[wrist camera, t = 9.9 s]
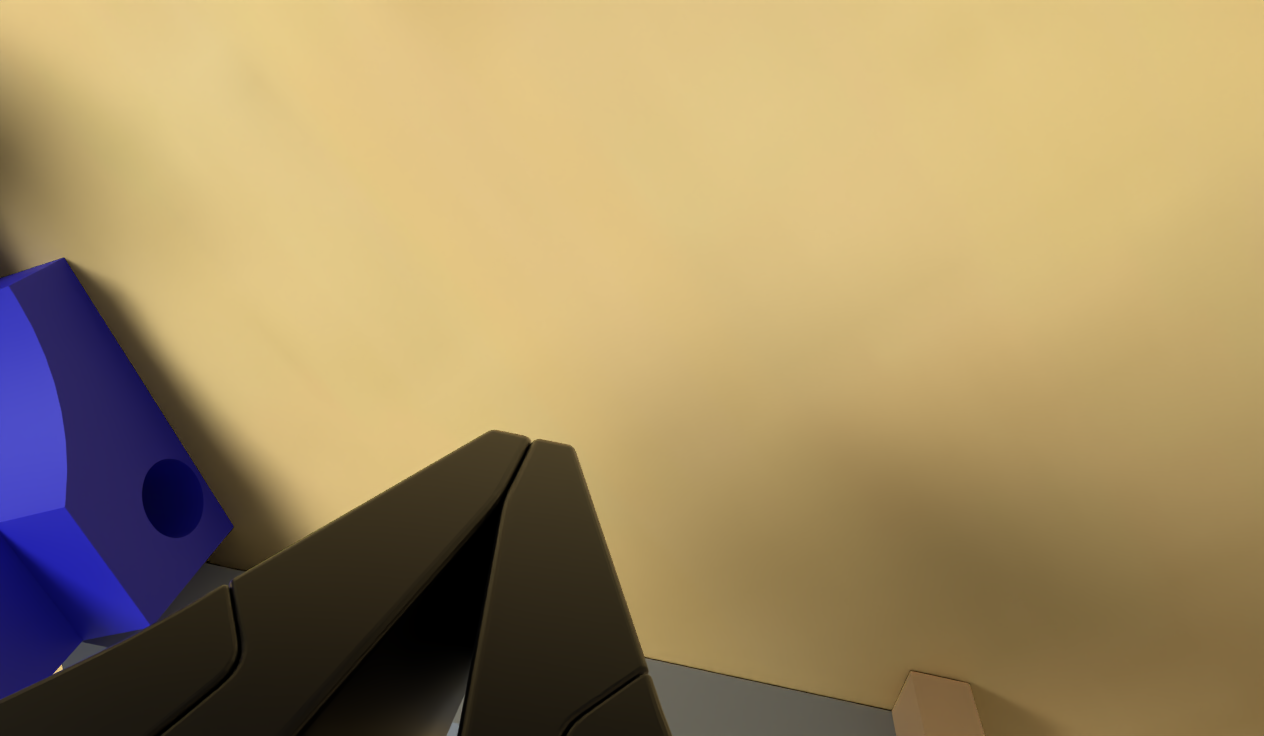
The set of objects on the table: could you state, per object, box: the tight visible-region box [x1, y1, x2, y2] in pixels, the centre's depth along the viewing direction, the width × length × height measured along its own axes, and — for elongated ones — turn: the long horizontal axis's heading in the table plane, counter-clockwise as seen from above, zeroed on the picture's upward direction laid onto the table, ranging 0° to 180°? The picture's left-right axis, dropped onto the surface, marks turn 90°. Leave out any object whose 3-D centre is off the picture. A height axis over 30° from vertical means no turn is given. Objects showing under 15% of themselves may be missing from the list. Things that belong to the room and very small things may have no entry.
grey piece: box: [62, 563, 985, 736], centre depth 13 cm, size 21×17×2 cm
